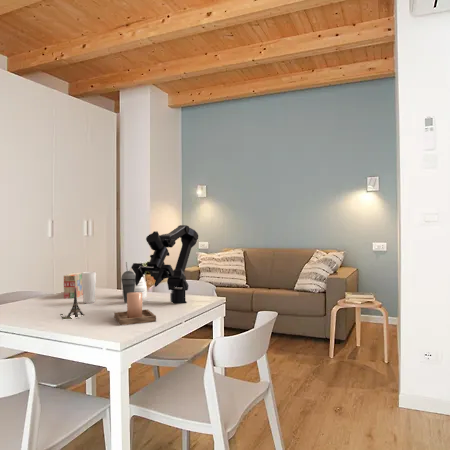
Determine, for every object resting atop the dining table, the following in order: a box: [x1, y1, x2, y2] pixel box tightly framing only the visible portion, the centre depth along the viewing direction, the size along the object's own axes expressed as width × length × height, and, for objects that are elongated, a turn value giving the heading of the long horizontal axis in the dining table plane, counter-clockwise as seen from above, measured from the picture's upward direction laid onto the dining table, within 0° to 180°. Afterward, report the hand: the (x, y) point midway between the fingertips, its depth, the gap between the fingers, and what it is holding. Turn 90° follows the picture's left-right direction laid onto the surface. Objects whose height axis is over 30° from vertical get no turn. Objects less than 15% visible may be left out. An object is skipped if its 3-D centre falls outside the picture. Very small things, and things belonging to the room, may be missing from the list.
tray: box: [113, 309, 157, 326], centre depth 162 cm, size 14×14×2 cm
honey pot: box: [121, 267, 148, 299], centre depth 215 cm, size 13×13×18 cm
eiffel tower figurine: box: [59, 288, 85, 320], centre depth 169 cm, size 15×10×13 cm
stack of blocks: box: [63, 272, 83, 299], centre depth 223 cm, size 21×6×12 cm, turn 179°
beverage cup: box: [120, 261, 135, 304], centre depth 199 cm, size 7×7×20 cm
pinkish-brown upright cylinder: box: [126, 292, 143, 318], centre depth 162 cm, size 6×6×10 cm
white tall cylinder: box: [81, 271, 97, 304], centre depth 199 cm, size 7×7×15 cm
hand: (145, 285), depth 170 cm, fingers open, 9 cm apart
